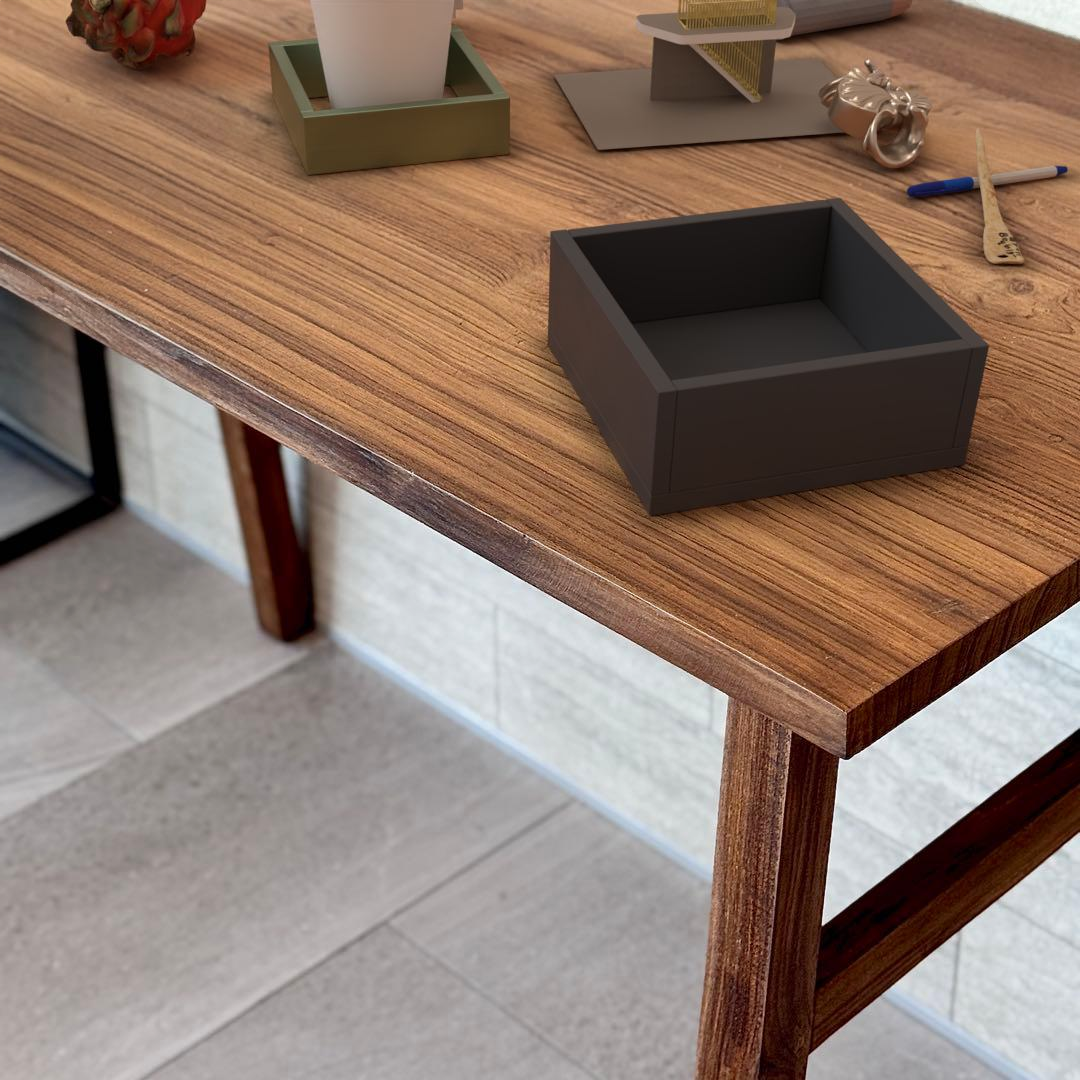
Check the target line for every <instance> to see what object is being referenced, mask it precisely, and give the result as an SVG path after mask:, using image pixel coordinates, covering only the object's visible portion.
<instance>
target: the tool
mask: <svg viewBox="0 0 1080 1080" xmlns="http://www.w3.org/2000/svg"><path fill="white" fill-rule="evenodd" d="M975 146H976V159H977V160H976V162H977V163H976V167H977V168H976V169H977V177H978V178H979V183H980V187H979V189H980V195H981V203H982V212H983V221H984V228H983V229H984V230H983V234H982V235H983V237H982V238H983V241H982V242H983V254H984V257H985V259H986V260H987V261H988V262H989V263H990V264H995V265H996V264H1010V265H1011V264H1012V265H1017V264H1019V265H1022V264H1024V262H1025V258H1024V256H1023V255H1022V253H1021V250H1020V247H1019V245H1018V243H1017V241H1016V239H1015V238H1014V236H1013V235H1012V233H1011V232H1010V230H1009V229H1008V227H1007V226H1006V223H1005V222H1004V221H1003V217H1002V214H1001V212H1000V208H999V205H998V199H997V194H996V190H995V187H994V186H995V185H993V183H992V180H991V176H990V175H991V171H990V166H989V161H988V157H987V151H986V146H985V141H984V139H983V133H982V131H981V128H979V127H977V128H976V129H975ZM1000 256H1005V257H1000Z"/></svg>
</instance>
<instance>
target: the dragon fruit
mask: <svg viewBox="0 0 1080 1080" xmlns="http://www.w3.org/2000/svg"><path fill="white" fill-rule="evenodd" d="M206 5H207V0H71V1H70V8H71V12H70V14H69V15H68V16H67V17H66V19H65V21H64V22H65V24H66V28H67V30H68V32H69V33H70V34H71V35H72V36H73V37H77V38H82V39H84V40H85V45H87V46H88V48H90V50H92V51H94V52H98V53H110V56H112V58H113V59H114V60H115V61H116V62H117V63H118V64H119V65H123V66H125V67H130V68H132V69H136V70H137V71H139V70H140V71H142V70H146V69H148V68H149V67H150V66H152V65H153V64H154V63H155V60H156V58H157V57H158V55H165V56H167V57H169V58H176V57H179V56H181V55H184V58H186V57H189V56H190V55H191V54H192V53H193V52H194V51H195V49H196V48H195V47H196V40H197V39H196V35H195V29H194V26H195V24H196V22H197V21H198V20H199V19H200V18H202V16H203V14H204V13H205V11H206V8H207V6H206ZM186 53H187V54H186ZM185 54H186V55H185Z"/></svg>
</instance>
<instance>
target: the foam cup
mask: <svg viewBox="0 0 1080 1080" xmlns="http://www.w3.org/2000/svg"><path fill="white" fill-rule="evenodd" d="M309 2H310V7H311V12H312V17H313V21H314V27H315V33H316V38H318V44H319V49H320V54H321V59H322V64H323V69H324V75H325V80H326V85H327V90H328V95H329V96H328V100H329V105H330V109H341V108H351V107H362V106H372V105H383V104H393V103H404V102H414V101H425V100H435V99H444V94H445V93H444V92H445V85H444V84H445V75H446V67H447V58H448V50H449V41H450V33H451V27H452V23H453V19H452V15H453V7H454V0H309Z"/></svg>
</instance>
